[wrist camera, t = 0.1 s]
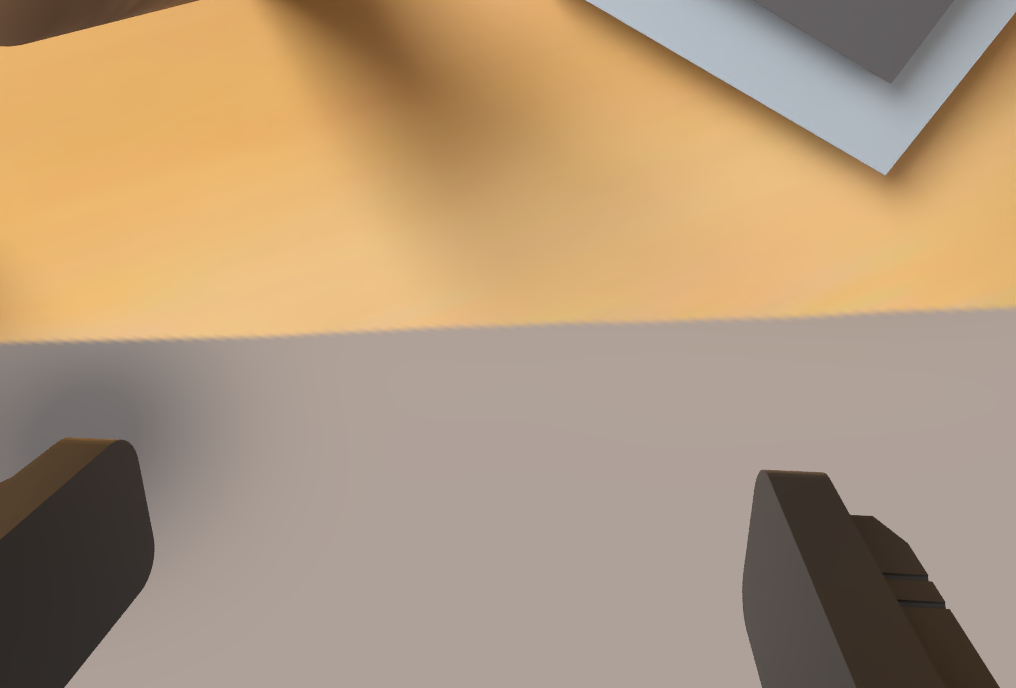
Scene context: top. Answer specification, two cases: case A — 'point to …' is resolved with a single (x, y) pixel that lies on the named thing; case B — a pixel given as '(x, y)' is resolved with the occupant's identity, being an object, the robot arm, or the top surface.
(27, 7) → the peg
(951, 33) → the socket
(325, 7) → the top surface
